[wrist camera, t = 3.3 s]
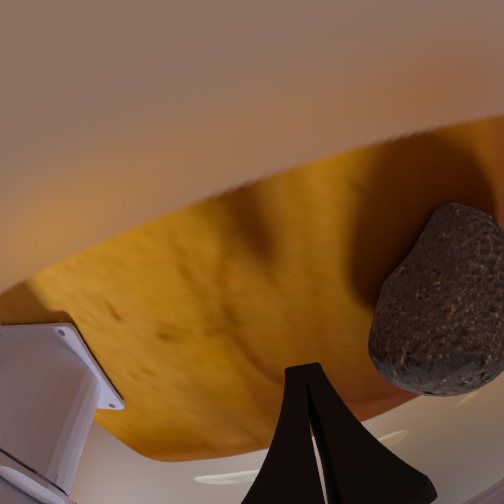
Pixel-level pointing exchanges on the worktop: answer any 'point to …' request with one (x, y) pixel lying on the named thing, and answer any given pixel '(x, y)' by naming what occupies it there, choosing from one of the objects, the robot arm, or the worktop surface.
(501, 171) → the worktop surface
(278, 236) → the worktop surface
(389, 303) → the stone
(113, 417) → the worktop surface
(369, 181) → the worktop surface
